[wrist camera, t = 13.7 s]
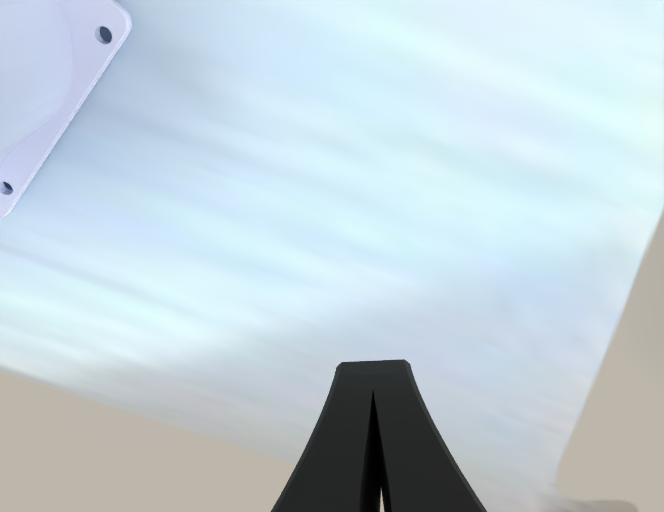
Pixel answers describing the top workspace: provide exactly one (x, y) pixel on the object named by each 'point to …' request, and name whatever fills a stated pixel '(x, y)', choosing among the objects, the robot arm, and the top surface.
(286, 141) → the top surface
